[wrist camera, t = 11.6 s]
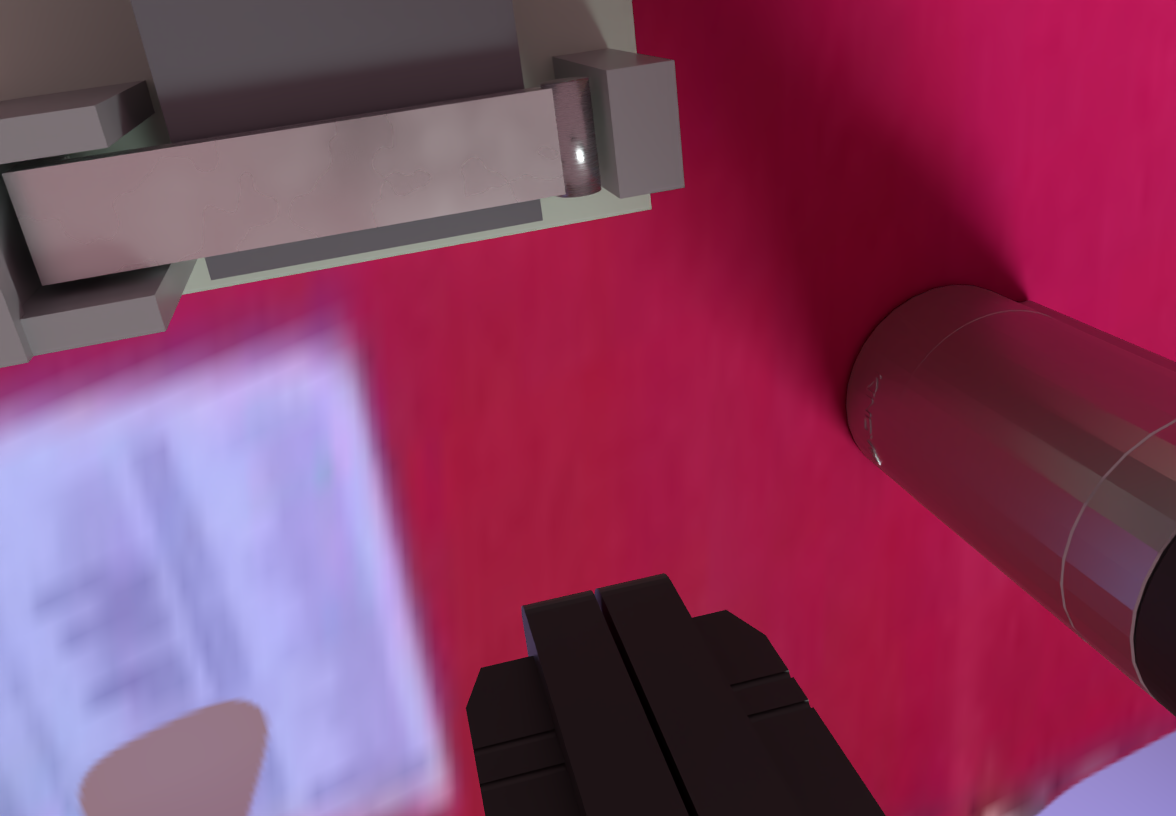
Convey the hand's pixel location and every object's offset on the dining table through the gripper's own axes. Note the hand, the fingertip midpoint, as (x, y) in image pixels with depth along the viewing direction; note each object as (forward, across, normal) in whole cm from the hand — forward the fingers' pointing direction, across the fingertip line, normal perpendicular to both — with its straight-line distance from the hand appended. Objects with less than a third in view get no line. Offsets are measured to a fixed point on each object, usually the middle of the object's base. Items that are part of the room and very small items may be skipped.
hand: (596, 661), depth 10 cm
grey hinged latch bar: (+22, +3, -2) cm, 23 cm away
